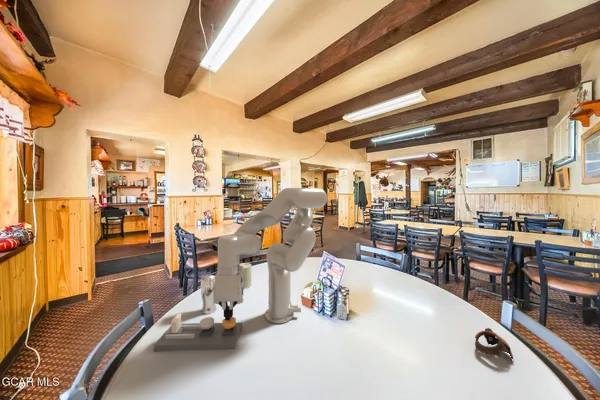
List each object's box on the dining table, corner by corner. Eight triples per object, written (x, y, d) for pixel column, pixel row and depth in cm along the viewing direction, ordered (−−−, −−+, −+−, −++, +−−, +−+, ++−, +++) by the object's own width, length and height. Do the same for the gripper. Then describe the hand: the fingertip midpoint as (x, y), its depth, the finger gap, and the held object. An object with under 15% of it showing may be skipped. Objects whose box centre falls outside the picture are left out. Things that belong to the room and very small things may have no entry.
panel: (242, 327, 88) (242, 319, 88) (234, 348, 76) (234, 339, 76) (172, 328, 87) (172, 320, 87) (154, 350, 75) (153, 341, 75)
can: (255, 284, 128) (255, 264, 128) (243, 290, 121) (242, 268, 120) (243, 280, 133) (243, 261, 133) (231, 286, 125) (231, 265, 125)
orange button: (237, 323, 84) (237, 316, 84) (234, 331, 80) (234, 324, 80) (224, 323, 84) (224, 316, 84) (220, 331, 79) (220, 324, 79)
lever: (184, 328, 84) (184, 312, 84) (177, 337, 79) (176, 320, 78) (176, 328, 84) (175, 312, 83) (168, 337, 78) (168, 320, 78)
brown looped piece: (522, 371, 69) (510, 349, 68) (486, 372, 73) (475, 351, 73) (505, 338, 79) (495, 319, 79) (475, 341, 84) (465, 323, 83)
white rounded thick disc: (215, 323, 84) (215, 317, 84) (211, 331, 79) (211, 324, 79) (203, 324, 84) (202, 317, 84) (197, 332, 79) (197, 325, 79)
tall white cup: (211, 315, 96) (211, 281, 96) (197, 313, 98) (197, 280, 97) (220, 307, 103) (220, 275, 102) (207, 305, 105) (206, 274, 104)
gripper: (251, 266, 85) (250, 312, 86) (211, 266, 84) (211, 313, 85) (247, 273, 78) (246, 324, 78) (203, 273, 77) (203, 324, 78)
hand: (228, 318), depth 82 cm, fingers closed
